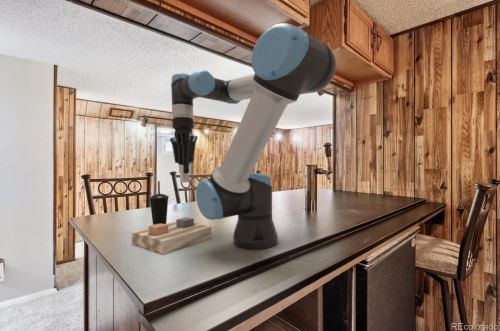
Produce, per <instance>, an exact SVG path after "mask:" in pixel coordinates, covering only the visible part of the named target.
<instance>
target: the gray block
mask: <svg viewBox="0 0 500 331" xmlns="http://www.w3.org/2000/svg"><path fill="white" fill-rule="evenodd" d="M175 222H176V225H177V227H179V228H188V227H192V226H194V223H195V219H194V218H191V217H182V218H177V219H176V221H175Z"/></svg>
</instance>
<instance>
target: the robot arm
mask: <svg viewBox="0 0 500 331" xmlns="http://www.w3.org/2000/svg"><path fill="white" fill-rule="evenodd" d="M251 60H252V61H251V68H252V70H253V72H254V73H253V74H252V73H251V74H248V75H245V76H240V77H237V78H233V79H230V80H224V79H219V78H216V77H214V76H213V75H212V74H211V73H210V71H207V70H205V69H202V70H198V71H194V72H192V73H191V74H188V73H184V72H183V73H182V72H179V73H174V74H173V75H172V76H171V82H170V83H171V84H170V90H171V117H172V119H171V121H172V124H171V125H172V127H171V128H172V129H174V134H173V135H174V136H173V137H171V138H170V139H169V140H170V142H171V143H170V144H171V147H172V152H173V153H172V154H173V159H174V163H175V164H178V167H179V170H178V172H179V183H181V184H182V183H183V184H184V183H189V176H190V175H189V174H190V164H191V163H193V162H194V158H195V157H194V156H195V151H196V150H195V149H196V143H197V141H198V136H197V135H195V134H194V133H193V129H194V126H195V125H194V100H195V99H198V98H201V99H208V100H212V101H217V102H223V103H225V104H226V103H227V104H233V105H237V104H239V103H240V102H241V101H243V100H249V102H248V105H247V106H246V109H245V111H244V113H243V115H242V117H241V120H240V122H239V125H238V127H237V129H236V131H235V134H234V136H233V138H232V140H231V143H230V145H229V147H228V149H227V151H226V154H225V157H224V158H223V160H222V163H221V164H220V165H219V166H216V167H215V168H214V169H213V170H212V172H211V174H210V176H209V178H208V179H203V180H200V181H199V182H198V184H197V186H196V189H195V199H196V205H197V208H198V210H199V212H200V213H201V215H202V216H203V217H204V218H205V219H207V220H211V221H214V220H222V219H225V218H229V217H235V216H237V222H236V225H235V228H234V233H233V235H232V243H233V245H234V246H236V247H238V248H241V249H247V250H248V249H249V250H261V249H267V248H272V247H274V246H277V244H278V243H279V237H278V236H279V235H278V233H277V230H276V226H275V224H274V220H273V184H272V178H271V176H269V175H268V174H262V173H253V172H254V168H255V167H256V165H257V163H258V161H259V159H260V158H261V155H262V153H263V151H264V150H265V148H266V145H267V144H268V142H269V140H270V139H271V136H272V135H273V133H274V131H275V129H276V127H277V125H278V123H279V121H280V119H281V118H282V115H283V114H284V112H285V110H286V108H287V107H288V105H290V104H293V103H296V102H297V101H298V99H299V97H300V95H305V94H314V93H317V92H320V91H322V90H324V89H326V87H327V86H329V85H330V83H331V82H332V80H333V79H334V76H335V74H336V72H337V71H336V70H337V60H336V57H335V54H334V52H333V50H332V49H331V48H330V47H329V45H326V44H325V42H324V43H323V42H321V41H320V40H318V39H317V38H316V37H314V36H312V35H311V34H309V33H308V32H307V31H305V30H304V29H302V28H301V27H297V26H295V25H293V24H291V23H286V22H281V23H277V24H273V25H272V27H269V28H268V29H267V28H266V30H265V31H264V32H262V34H261V35H260V37H258V39H257V41H256V42H255V45H254V47H253V50H252V53H251Z"/></svg>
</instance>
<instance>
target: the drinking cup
mask: <svg viewBox="0 0 500 331" xmlns="http://www.w3.org/2000/svg"><path fill="white" fill-rule="evenodd" d="M160 185H161V181H160V180H159V181H158V180H157V193H155V194H153V195H151V196H149V197H148V199H149V203H150V211H151V221H152V225H155V224H160V223H161V224H167V218H168V207H169V206H168V205H169V198H170V197H169V195H167V194H164V193H161V186H160Z"/></svg>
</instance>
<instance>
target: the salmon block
mask: <svg viewBox="0 0 500 331" xmlns="http://www.w3.org/2000/svg"><path fill="white" fill-rule="evenodd" d="M166 224H167V223H166ZM166 224H161V223H160V224H155V225H153V224H151V225H148V228H149V234H150V235H153V236H159V235H162V234H166V233H168V225H166Z"/></svg>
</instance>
